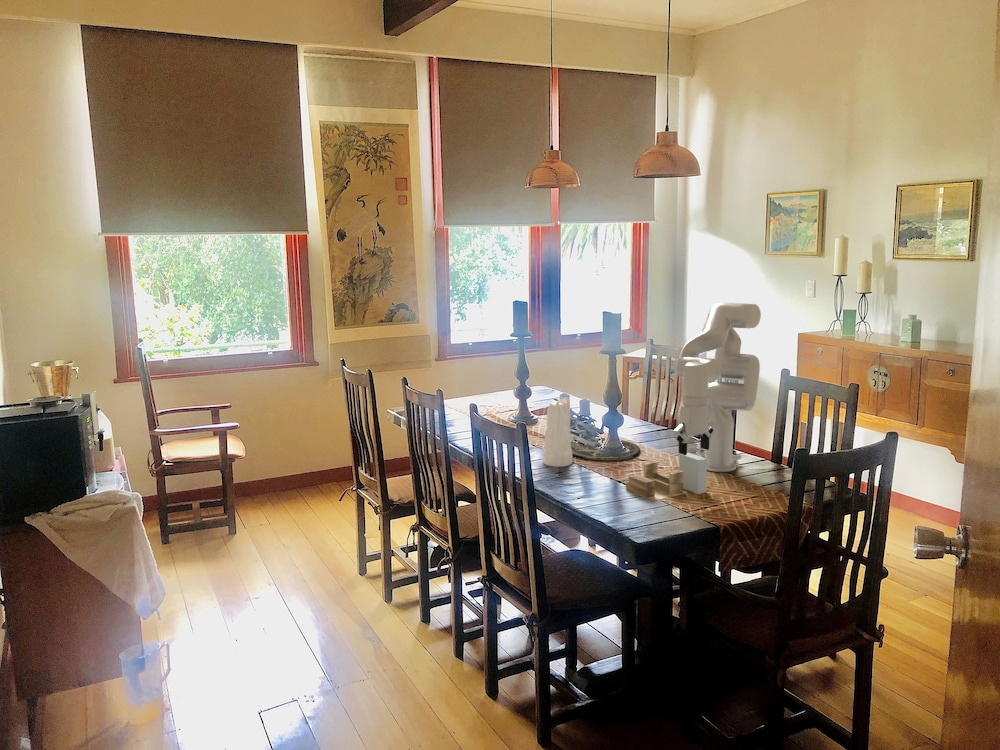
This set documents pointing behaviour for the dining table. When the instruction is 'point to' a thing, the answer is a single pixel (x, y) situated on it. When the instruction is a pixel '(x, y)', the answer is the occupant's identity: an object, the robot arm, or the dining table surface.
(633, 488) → the block
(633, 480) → the offcut top
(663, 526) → the dining table surface
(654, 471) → the rack
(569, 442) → the white pillar candle
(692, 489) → the white rectangular block
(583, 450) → the decorative plate
